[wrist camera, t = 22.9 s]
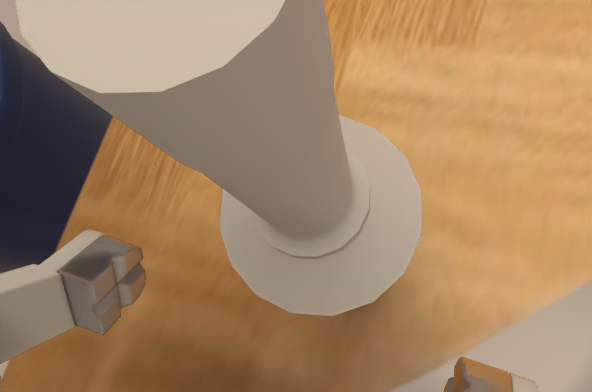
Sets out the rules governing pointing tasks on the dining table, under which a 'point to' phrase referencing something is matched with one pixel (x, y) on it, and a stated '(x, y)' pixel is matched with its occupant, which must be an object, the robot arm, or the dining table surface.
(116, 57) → the white round tapered piece
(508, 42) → the dining table surface
